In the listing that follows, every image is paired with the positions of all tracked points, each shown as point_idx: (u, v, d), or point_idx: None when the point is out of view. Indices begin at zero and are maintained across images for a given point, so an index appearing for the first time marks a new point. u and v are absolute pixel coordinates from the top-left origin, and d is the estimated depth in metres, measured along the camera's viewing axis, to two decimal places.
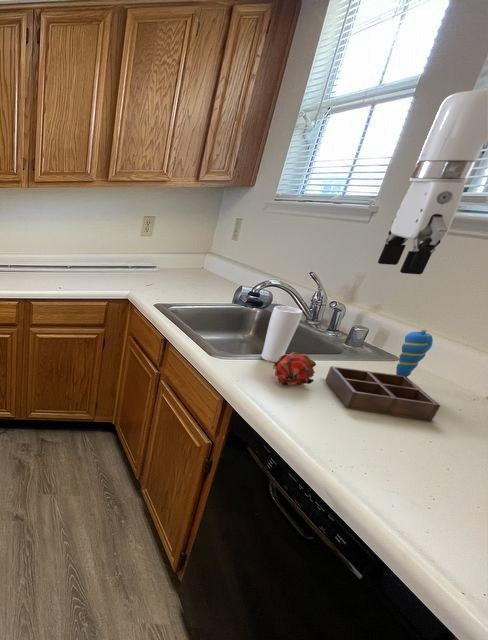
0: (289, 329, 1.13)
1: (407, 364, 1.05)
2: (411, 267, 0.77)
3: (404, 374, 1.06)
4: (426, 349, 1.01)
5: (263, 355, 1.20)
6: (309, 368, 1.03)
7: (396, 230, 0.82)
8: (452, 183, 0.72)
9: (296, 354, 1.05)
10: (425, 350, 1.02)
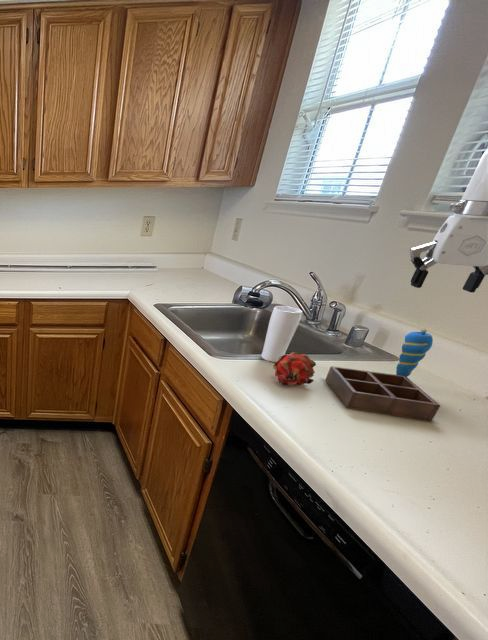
0: (289, 329, 1.13)
1: (407, 364, 1.05)
2: (411, 280, 0.99)
3: (404, 374, 1.06)
4: (426, 349, 1.01)
5: (263, 355, 1.20)
6: (309, 368, 1.03)
7: None
8: (451, 217, 0.91)
9: (296, 354, 1.05)
10: (425, 350, 1.02)
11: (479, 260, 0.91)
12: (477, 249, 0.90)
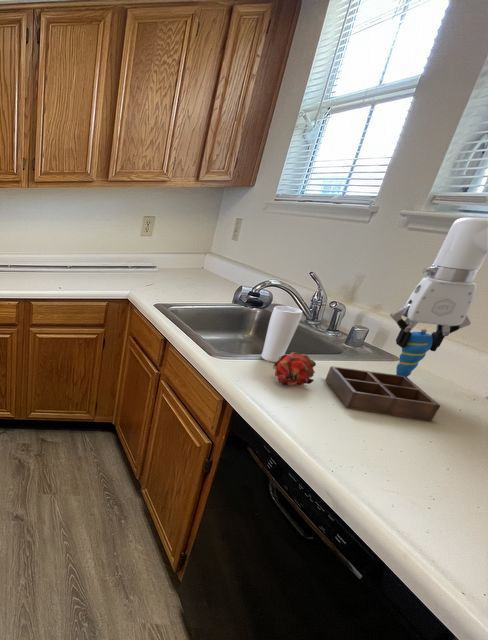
0: (289, 329, 1.13)
1: (407, 364, 1.05)
2: (396, 339, 1.05)
3: (404, 374, 1.06)
4: (426, 349, 1.01)
5: (263, 355, 1.20)
6: (309, 368, 1.03)
7: None
8: (424, 280, 0.98)
9: (296, 354, 1.05)
10: (425, 350, 1.02)
11: (450, 320, 0.97)
12: (448, 310, 0.97)
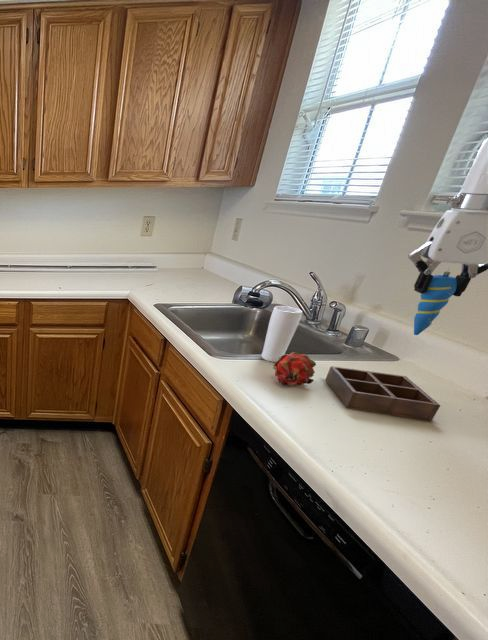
0: (289, 329, 1.13)
1: (427, 312, 0.92)
2: (414, 285, 0.92)
3: (423, 325, 0.93)
4: (449, 294, 0.89)
5: (263, 355, 1.20)
6: (309, 368, 1.03)
7: None
8: (448, 212, 0.85)
9: (296, 354, 1.05)
10: (448, 295, 0.89)
11: (479, 258, 0.84)
12: (476, 246, 0.84)
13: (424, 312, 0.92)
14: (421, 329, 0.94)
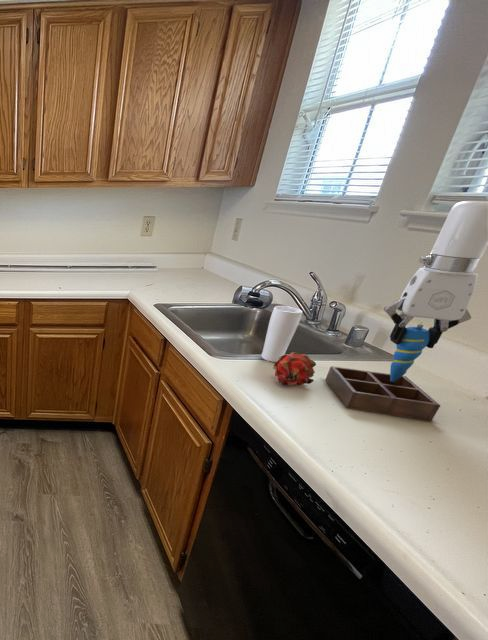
0: (289, 329, 1.13)
1: (402, 362, 0.96)
2: (390, 335, 0.97)
3: (399, 373, 0.98)
4: (422, 346, 0.93)
5: (263, 355, 1.20)
6: (309, 368, 1.03)
7: None
8: (420, 270, 0.90)
9: (296, 354, 1.05)
10: (421, 347, 0.93)
11: (449, 314, 0.89)
12: (447, 303, 0.88)
13: (399, 361, 0.97)
14: (397, 377, 0.98)
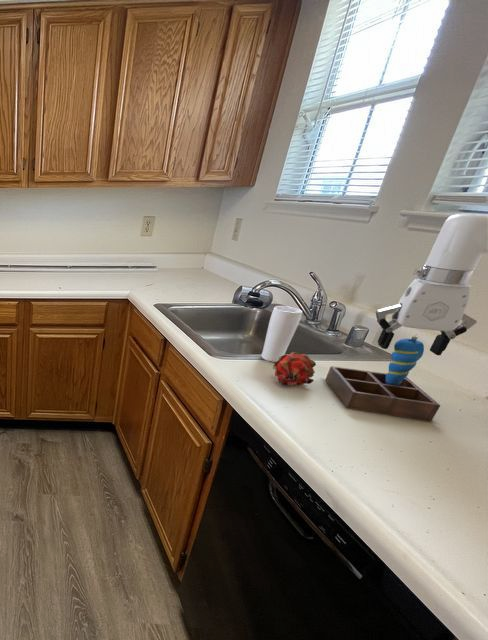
0: (289, 329, 1.13)
1: (397, 373, 0.98)
2: (378, 340, 0.98)
3: (394, 384, 0.99)
4: (417, 358, 0.94)
5: (263, 355, 1.20)
6: (309, 368, 1.03)
7: None
8: (415, 282, 0.91)
9: (296, 354, 1.05)
10: (416, 359, 0.95)
11: (443, 325, 0.90)
12: (441, 315, 0.90)
13: (394, 373, 0.98)
14: None
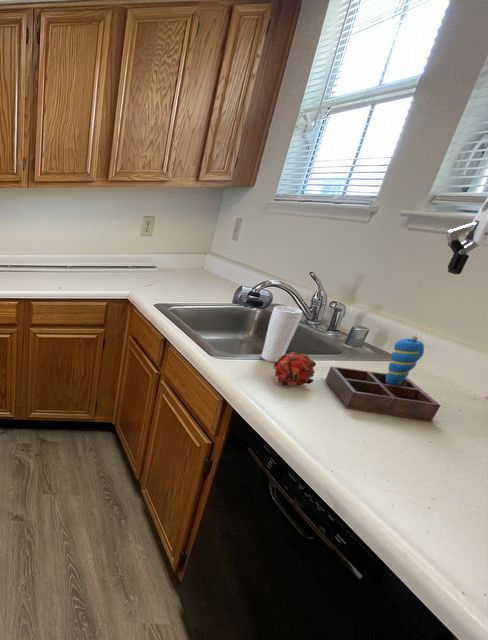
0: (289, 329, 1.13)
1: (397, 373, 0.98)
2: (448, 266, 0.89)
3: (394, 384, 0.99)
4: (417, 358, 0.94)
5: (263, 355, 1.20)
6: (309, 368, 1.03)
7: None
8: None
9: (296, 354, 1.05)
10: (416, 359, 0.95)
11: None
12: None
13: (394, 373, 0.98)
14: None
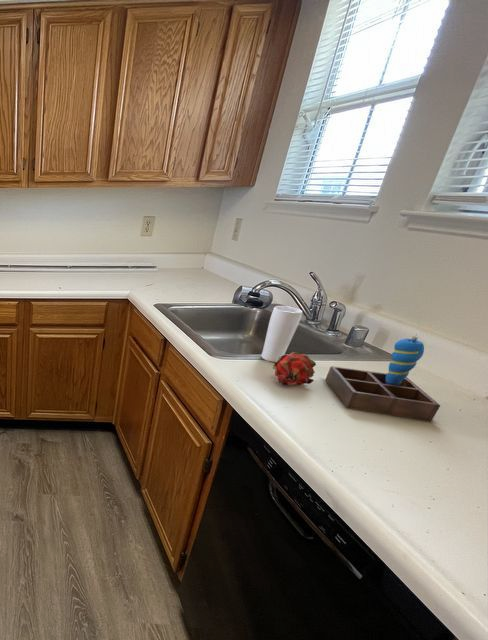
0: (289, 329, 1.13)
1: (397, 373, 0.98)
2: None
3: (394, 384, 0.99)
4: (417, 358, 0.94)
5: (263, 355, 1.20)
6: (309, 368, 1.03)
7: None
8: None
9: (296, 354, 1.05)
10: (416, 359, 0.95)
11: None
12: None
13: (394, 373, 0.98)
14: None
